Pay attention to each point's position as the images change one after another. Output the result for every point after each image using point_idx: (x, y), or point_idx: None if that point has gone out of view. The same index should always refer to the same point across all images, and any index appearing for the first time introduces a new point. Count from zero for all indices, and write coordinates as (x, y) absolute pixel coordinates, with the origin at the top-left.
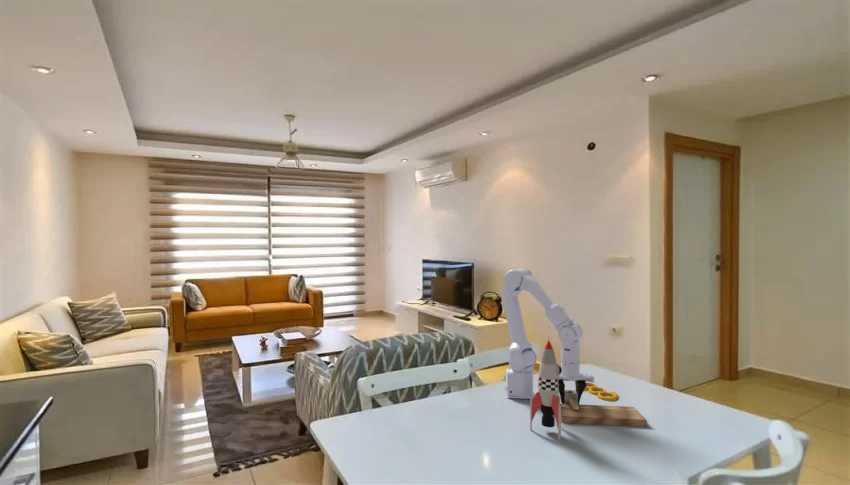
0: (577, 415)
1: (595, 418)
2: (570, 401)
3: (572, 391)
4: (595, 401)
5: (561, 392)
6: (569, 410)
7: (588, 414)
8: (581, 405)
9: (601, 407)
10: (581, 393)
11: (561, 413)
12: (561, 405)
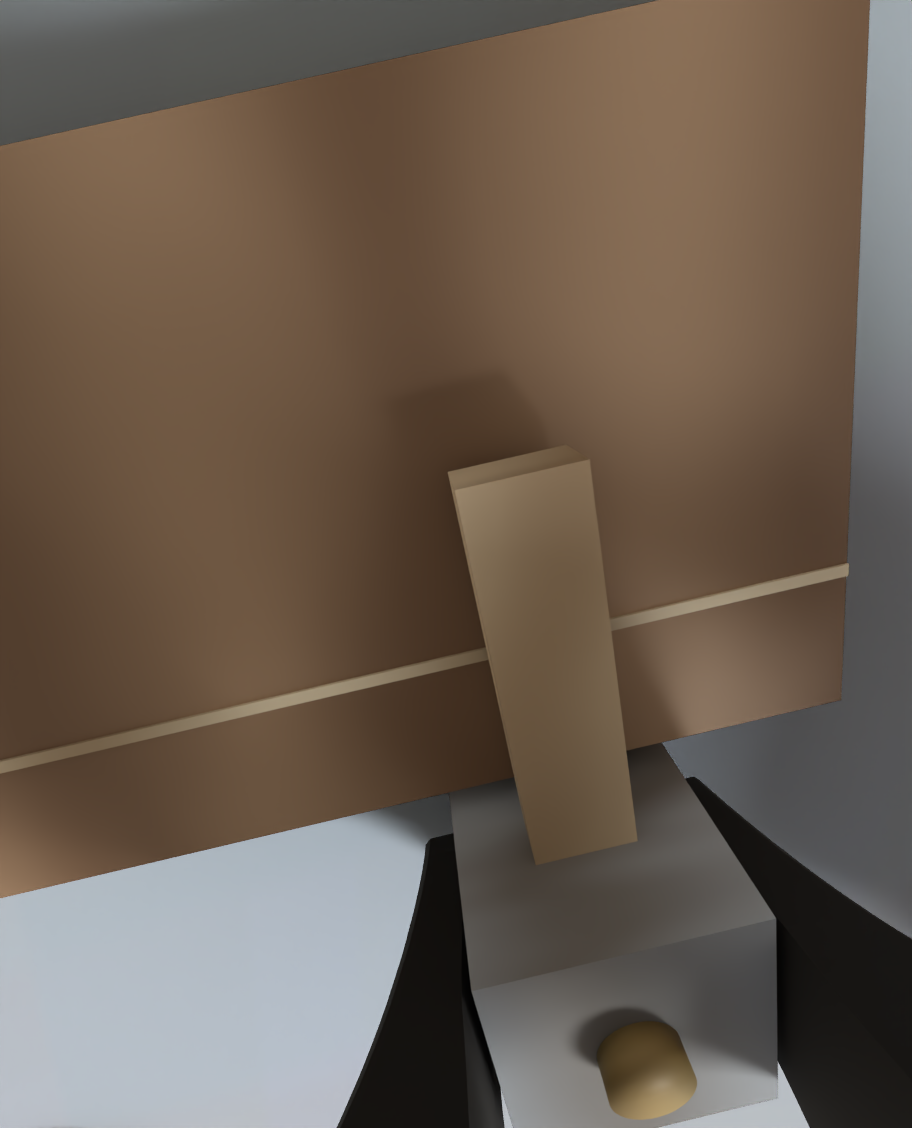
0: (479, 141)
1: (35, 150)
2: (620, 732)
3: (580, 1091)
4: (217, 1073)
5: (875, 935)
6: (638, 420)
7: (219, 315)
8: (386, 766)
9: (12, 801)
10: (386, 1049)
11: (850, 153)
12: (754, 641)
